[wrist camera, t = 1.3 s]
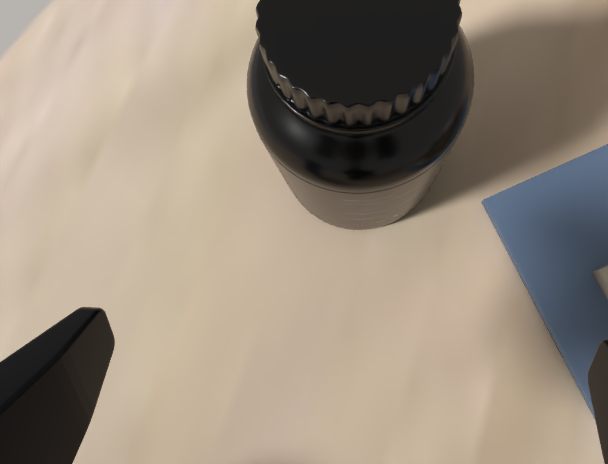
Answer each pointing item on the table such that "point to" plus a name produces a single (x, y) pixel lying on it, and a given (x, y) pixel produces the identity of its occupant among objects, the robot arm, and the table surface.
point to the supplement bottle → (359, 101)
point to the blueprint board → (562, 252)
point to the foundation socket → (602, 279)
